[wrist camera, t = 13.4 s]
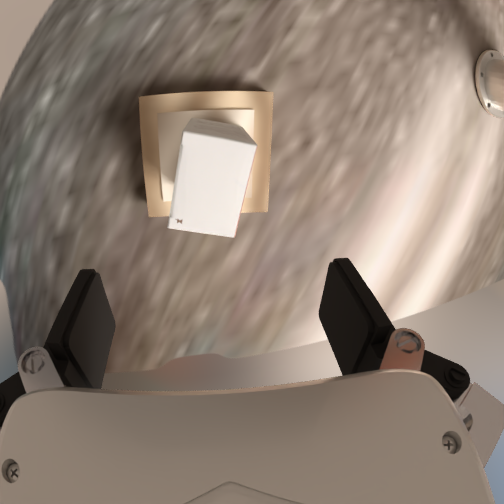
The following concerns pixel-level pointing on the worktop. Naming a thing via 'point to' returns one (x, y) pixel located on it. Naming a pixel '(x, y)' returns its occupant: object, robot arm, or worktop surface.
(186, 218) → the small box
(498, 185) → the worktop surface
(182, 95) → the maple plinth
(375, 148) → the worktop surface
